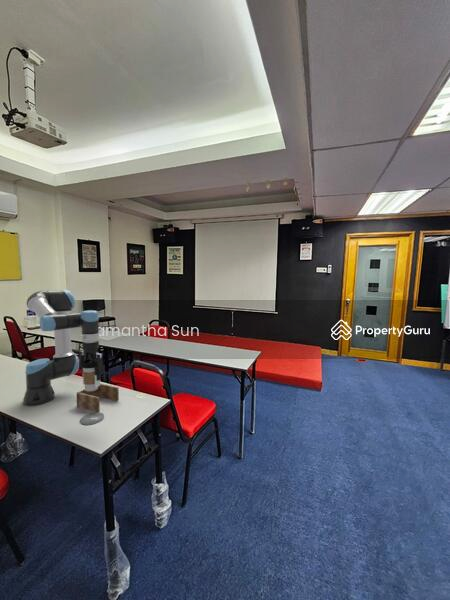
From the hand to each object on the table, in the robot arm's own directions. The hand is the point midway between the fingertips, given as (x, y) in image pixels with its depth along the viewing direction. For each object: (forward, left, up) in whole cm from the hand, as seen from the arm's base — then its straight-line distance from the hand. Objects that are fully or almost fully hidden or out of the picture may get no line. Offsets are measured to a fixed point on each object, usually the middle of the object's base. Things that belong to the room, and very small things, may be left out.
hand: (91, 384), depth 132 cm
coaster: (0, 0, -18) cm, 18 cm away
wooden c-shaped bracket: (-11, +14, -18) cm, 25 cm away
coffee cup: (0, 0, -2) cm, 2 cm away
